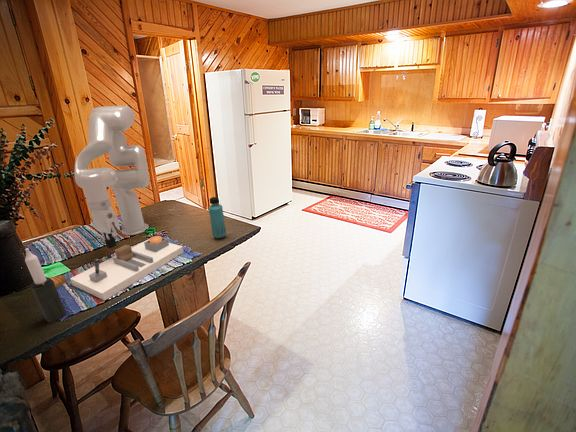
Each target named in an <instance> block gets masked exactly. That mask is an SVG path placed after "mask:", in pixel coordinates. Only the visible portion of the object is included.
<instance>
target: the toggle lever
mask: <svg viewBox="0 0 576 432" xmlns="http://www.w3.org/2000/svg"><path fill="white" fill-rule="evenodd" d="M93 263H94V266H95V273H96V274H98V273H99V264H100V263H101V259H100V258H94V260H93Z"/></svg>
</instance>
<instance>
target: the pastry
mask: <svg viewBox="0 0 576 432" xmlns="http://www.w3.org/2000/svg"><path fill="white" fill-rule="evenodd" d="M49 278H50V279H51V280H53V282H54V284H55V286H56V289H57V288H59V287H61V286H63V285H64V284H65V283H66V282H67V278H66V277H65V275H57V276H50V277H49Z"/></svg>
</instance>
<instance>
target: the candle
mask: <svg viewBox="0 0 576 432" xmlns="http://www.w3.org/2000/svg"><path fill="white" fill-rule="evenodd" d="M24 251H25V259H24V262H25V264H26V266H27V269H28V271H29V273H30V275H31V278H32V280H33V282H32V283H30V285H29V287H30V289H31V291H32V294H33V296H34V298H35V300H36V303H37V305H38V307H39V309H40V311H41V313H42V315H43V318H44V320H45V321H46V322H48V323H49V324H50V323H54V322H55V321H57V320H59V319H61V318H64V317H65V316H67V311H66V309H65V306H64V303H63V302H62V299H61V296H60V294H59V291H58V289H57V288H56V286H55V284H54V282H53V280H51V279H50V277H49V276H46V275H45V272H44V270H43V267H42V265H41V262H40V260H39V258H38V256H37V255H35V254H33V253H32V252H31V250H30V248H28V247H26V248H25V249H24Z"/></svg>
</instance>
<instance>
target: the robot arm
mask: <svg viewBox="0 0 576 432" xmlns="http://www.w3.org/2000/svg"><path fill="white" fill-rule="evenodd" d="M90 112H91V113H90V115H89V117H88V144H87V145H86V146H85V147H83V149H82V150H81V151H80V152H79V153H78V155H77V156H76V158H75V161H74V182H75V184H76V185H77V186H78V187H79V188H80V189H82V190H83V194H84V197H85V200H86V204H87V207H88V210H89V212H90V214H91V215H90V216H91V219H92V223H93V226H94V229H95V230H96V231H98V232H99V233H100V234H101V235H102V238H103V239H104V242H105V245H106V248H107V249H112V248H114V247H117V241H116V236H118V232H117V231H119V230H121V234H122V235H125V236H134V235H139V234H141V233H144V232H146V231H147V230H148V229H149V224H147V223H145V221H144V216H143V213H142V209H141V204H140V201H139V196H138V194H137V193H136V192H135V191H134V189H141V188H147V187H148V186H149V184H150V175H149V168H148V162H147V160H148V159H147V155H146V151H145V149H144V148H143V147H142V146H141V145H137V144H135V145H134V144H133V145H132V144H131V145H128V143H127V137H126V134H125V133H124V132H123V131H127V130H129V129H130V128H131V127H132V125H134V123H135V112H134V110H133V109H132V107H130V106H129V105H111V106H108V105H107V106H106V105H105V106H99V107H98V106H97V107H94V108H93V109H92V110H91V111H90ZM106 154H107V155H108V159H109V163H110V165H111V166H113V167H119V168H120V167H133V166H135V167H134V168H124V169H123V168H122V169H116V170H114V169H113V168H112V167H95V168H93V167H92V168H88V167H89V166H90V164H91V163H92V161H94V160H95V159H97V158H99V157H101V156H103V155H106ZM110 187H111V189H112V192H113V194H114V197H115V200H116V204H117V207H118V210H119V214H120V218H121V221H122V222H120V224H121V225H123V228H122V229H121V227H120V224H119V221H118V218H117V214H116V212H115V210H114V209H113V206H112V203H111V200H110V197H109V193H108V189H107V188H110ZM146 229H147V230H146ZM145 230H146V231H145Z"/></svg>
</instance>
